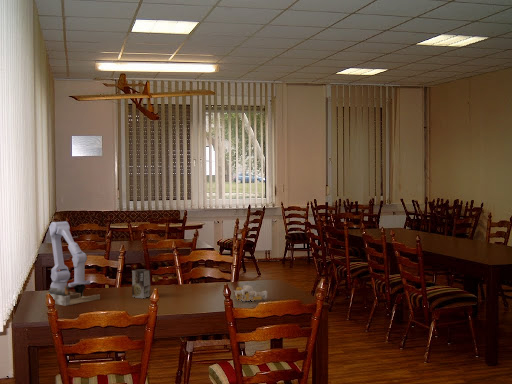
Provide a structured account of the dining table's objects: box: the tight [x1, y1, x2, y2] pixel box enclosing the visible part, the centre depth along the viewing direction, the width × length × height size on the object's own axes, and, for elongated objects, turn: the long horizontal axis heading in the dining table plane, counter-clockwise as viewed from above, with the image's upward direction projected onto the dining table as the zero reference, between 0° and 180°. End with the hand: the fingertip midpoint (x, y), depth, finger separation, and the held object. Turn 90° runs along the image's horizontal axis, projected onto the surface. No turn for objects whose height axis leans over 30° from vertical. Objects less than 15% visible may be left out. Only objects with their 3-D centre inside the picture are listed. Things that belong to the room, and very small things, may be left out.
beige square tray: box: [67, 291, 81, 300], centre depth 385 cm, size 9×9×4 cm
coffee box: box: [131, 268, 151, 299], centre depth 403 cm, size 9×6×16 cm
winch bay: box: [46, 285, 101, 307], centre depth 388 cm, size 16×25×11 cm, turn 146°
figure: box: [233, 284, 268, 302], centre depth 396 cm, size 17×18×9 cm
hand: (79, 298), depth 391 cm, fingers closed
